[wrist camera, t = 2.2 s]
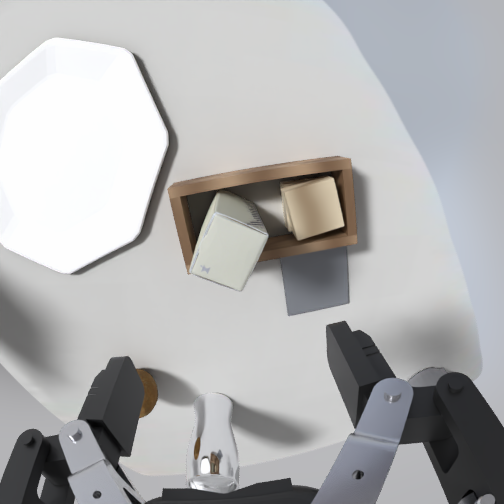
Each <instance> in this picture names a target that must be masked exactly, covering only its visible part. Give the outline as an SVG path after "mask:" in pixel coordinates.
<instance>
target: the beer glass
mask: <svg viewBox="0 0 504 504" xmlns="http://www.w3.org/2000/svg"><path fill="white" fill-rule="evenodd" d="M232 411H233V403H232V401H231V400H230V399H229V398H228V397H227V396H225V395H223V394H219V393H205V394H202V395H200V396H198V397H197V398H196V399H195V401H194V412H195V424H194V428H193V431H192V434H191V438H190V441H189V445H188V449H187V455H186V486H187V487H188V488H193V489H199V490H204V491H210V492H217V493H229V492H232V491H235V490H238V488H239V454H238V449H237V444H236V441H235V437H234V434H233V430H232V426H231V416H232Z"/></svg>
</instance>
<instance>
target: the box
mask: <svg viewBox="0 0 504 504" xmlns="http://www.w3.org/2000/svg"><path fill="white" fill-rule="evenodd" d="M268 236H269V235H268V233H267V231H266V229H265V226H264V224H263V222H262V220H261V218H260V216H259V213H258V211H257V209H256V207H255V205H254V203H253V202H251V201H249V200H247V199H244V198H242V197H240V196H238V195H236V194H233V193H231V192H228V191H225V190H223V189H218V190H217V192H216V194H215V196H214V199H213V201H212V203H211V205H210V208H209V210H208V212H207V215H206V217H205V220H204V222H203V225H202V227H201V231H200V235H199V238H198V241H197V244H196V248H195V251H194V255H193V258H192V262H191V265H190V269H189V273H190V274H192V275H195V276H197V277H200V278H202V279H205V280H208V281H210V282H213V283H216V284H219V285H221V286H225V287H227V288H230V289H233V290H236V291H242V290H243V288H244V287H245V285H246V283H247V281H248V279H249V277H250V275H251V273H252V271H253V269H254V267H255V265H256V263H257V261H258V259H259V257H260V255H261V253H262V250H263V248H264V246H265V244H266V241H267V239H268Z"/></svg>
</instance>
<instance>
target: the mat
mask: <svg viewBox="0 0 504 504" xmlns="http://www.w3.org/2000/svg"><path fill="white" fill-rule="evenodd" d="M280 259H281V267H282V274H283V281H284V289H285V296H286V304H287V312H288V316H291V315H296V314H301V313H305V312H310V311H315V310H320V309H324V308H329V307H334V306H338V305H343V304H347V303H348V270H347V249H346V246H342V247H337V248H331V249H326V250H321V251H315V252H310V253H305V254H299V255H294V256H288V257H283V258H280Z"/></svg>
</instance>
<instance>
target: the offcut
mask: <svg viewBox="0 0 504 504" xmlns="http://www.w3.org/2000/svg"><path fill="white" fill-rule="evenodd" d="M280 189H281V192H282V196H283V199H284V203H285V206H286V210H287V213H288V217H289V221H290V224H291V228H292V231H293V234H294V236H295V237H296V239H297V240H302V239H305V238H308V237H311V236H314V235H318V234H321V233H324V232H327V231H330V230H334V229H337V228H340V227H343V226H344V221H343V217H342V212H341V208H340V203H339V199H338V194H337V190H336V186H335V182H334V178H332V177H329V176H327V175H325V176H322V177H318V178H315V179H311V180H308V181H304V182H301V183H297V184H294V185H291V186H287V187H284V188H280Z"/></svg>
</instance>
